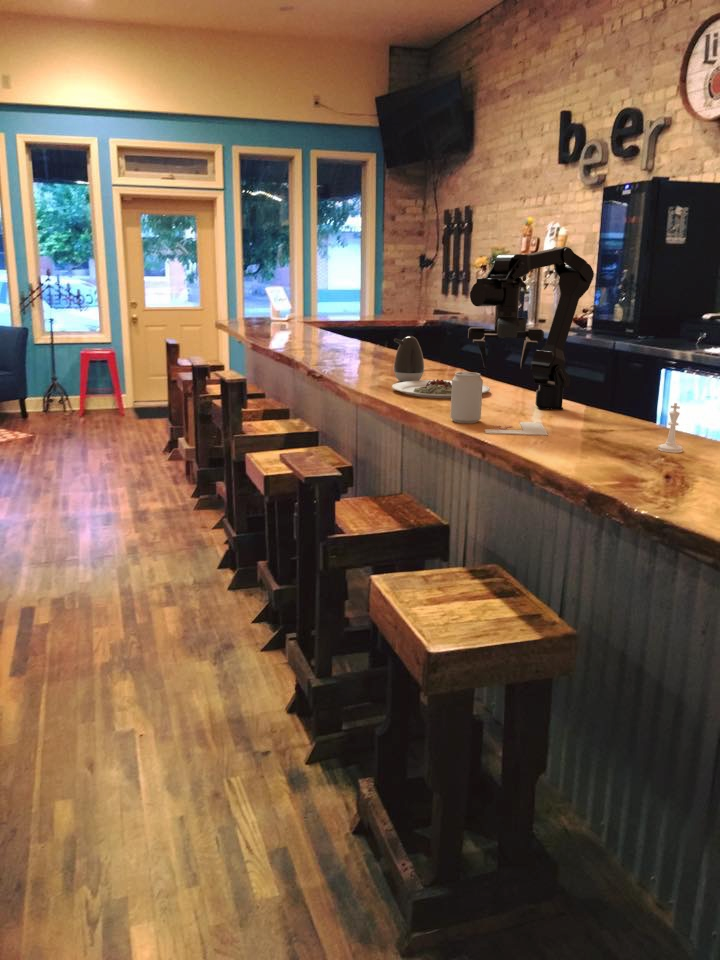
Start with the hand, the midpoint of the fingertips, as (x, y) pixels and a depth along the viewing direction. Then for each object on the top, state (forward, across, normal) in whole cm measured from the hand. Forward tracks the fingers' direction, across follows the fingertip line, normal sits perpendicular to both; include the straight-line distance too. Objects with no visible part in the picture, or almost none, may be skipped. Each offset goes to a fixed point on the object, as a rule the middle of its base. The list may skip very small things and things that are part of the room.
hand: (503, 368), depth 199 cm
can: (+12, -9, -11) cm, 19 cm away
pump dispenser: (+12, -27, +57) cm, 64 cm away
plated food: (+12, -16, +36) cm, 41 cm away
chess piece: (+12, +33, -37) cm, 51 cm away
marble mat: (+12, +2, -19) cm, 23 cm away
